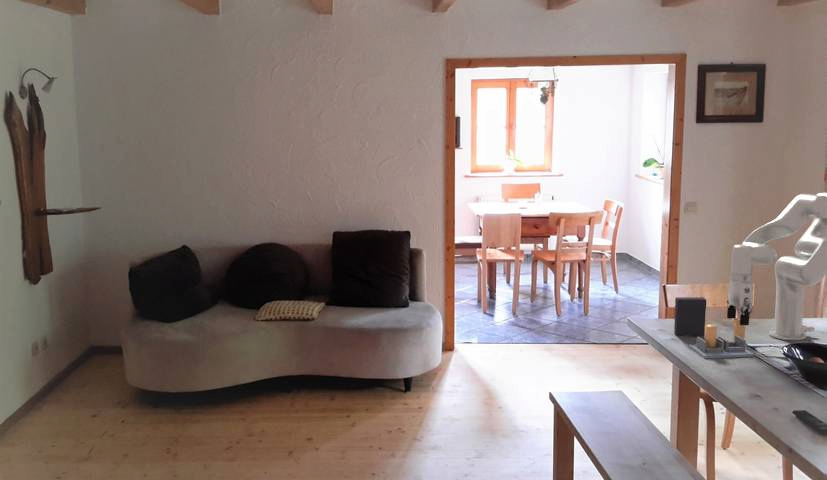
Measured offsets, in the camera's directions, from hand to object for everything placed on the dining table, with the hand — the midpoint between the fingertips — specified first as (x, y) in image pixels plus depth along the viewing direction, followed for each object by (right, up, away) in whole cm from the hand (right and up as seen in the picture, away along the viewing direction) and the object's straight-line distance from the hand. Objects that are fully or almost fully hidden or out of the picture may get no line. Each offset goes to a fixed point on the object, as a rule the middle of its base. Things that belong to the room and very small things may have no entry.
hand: (737, 321), depth 266 cm
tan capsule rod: (+1, -8, +2) cm, 8 cm away
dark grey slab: (-13, -7, +13) cm, 20 cm away
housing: (-10, -10, -9) cm, 17 cm away
